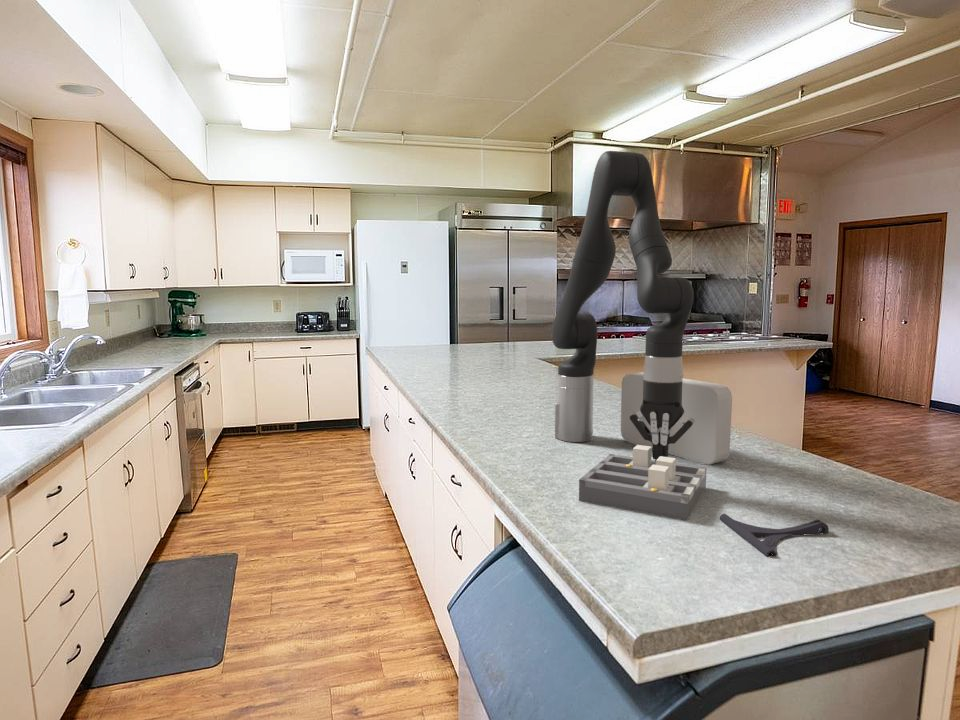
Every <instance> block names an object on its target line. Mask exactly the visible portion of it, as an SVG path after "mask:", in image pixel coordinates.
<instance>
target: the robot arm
mask: <svg viewBox="0 0 960 720" xmlns="http://www.w3.org/2000/svg"><path fill="white" fill-rule="evenodd" d="M591 181H592V182H591V186H590V190H589V197H588V203H587V209H586V212H585V213H586V214H585V218H584V222H583V225H582V230H581V233H580V237H579V239H578V243H577V246H576V248H575V253H574V256H573V259H572V264H571V268H570V273H569V276H568V280H567V283H566V287H565V290H564V293H563V295H562V298H561V300H560V303H559V306H558V308H557V312H556V314H555V317H554V321H553V323H552V327H551V341H552V343H553V345H554V346H555V348H558V349H560V350H575V353H574V354H573V355H572V356H571V357H569V358H568V359H566V360H564V361H562V362H560V363H559V364H558V366H557V367H558V368H557V371H558V372H557V375H558V376H557V382H558V383H557V402H555V404H554V411H555V412H554V438H555V439H557V440H561V441H564V442H568V443H569V442H570V443H583V442H589V441H591V440H593V432H594V429H593V428H594V425H593V424H594V379H595V378H594V372H595V371H594V370H595V365H596V360H597V359H596V358H597V344H598V325H597V320H596V318H595V317H594V315H593V314H592V313H591V314H590V313H585V312H584V313H579V312H580V310H581V308H582V307H583V306H584V304H585V303H586V301H587V300H588V299H589V298H590V297H591V296H593V295H594V294H595V292H597V290H598V289H599V288H601V287H602V285H603V284H604V283H605V282H606V280H607V279H608V277H609V276H610V273H611V270H612V267H613V263H614V261H615V257H616V253H617V247H616V242H615V239H614V235H613V232H612V230H611V226H610V223H609V217H608V215H609V214H608V212H609V205H610V202H611V199H612V197H613V196H617V197H619V196H620V197H631V198H632V200H633V202H634V205H635V209H636V211H635V213H634V218H633V221H632V223H631V225H630V229H629V232H628V233H629V234H628V242H629V248H630V251H631V254H632V257H633V261H634V263H635V266H636V281H637V284H636V285H637V286H636V288H637V291H636V297H637V303H638V305H639V306H640V308H641V309H642V310H643V311H644V312H646V313H648V314H666V315H665V318H664V319H663V321H662V322H661V323H659V324H655V325H652V326H650V327H648V328H647V329H646V332H645V353H644V354H645V356H644V361H643V372H644V375H643V403H642V405H641V407H640V411H638V412H637V413H634V414H632V415H631V416H630V420H631V421H632V423H633V424H634V426H635V427H636V428H637V430H638V431H639V433H640V434H641V435H642V437H643V438H644V440H648V441H650V442H652V444H653V449H652V454H651V458H652V460H655V462H656V460H657V459H658V458H659V457H660V456H663V457H669V454H668V445H669V444H674V443H676V442H677V441H678V440H679V439H680V438H681V436H682V435H683V434H684V433H685V432H686V431H687V430H688V429H689V428H690V427H691V426H692V425H693V424H694V420H693V419H690V418H689V417H687V416H686V415H685V414H684V409H683V407H682V382H683V378H684V366H683V342H684V341H683V339H684V333H685V331H686V327H687V322H688V319H689V317H690V314H691V310H692V307H693V304H694V297H695V295H694V288H693V286H692V284H691V282H690V280H688V279H687V278H685V277H680V276H679V277H678V276H672V277H671V276H670V277H669V276H667V277H666V276H665V277H662V276H661V277H660V276H659V275H662V274H664V273H666V272H667V271H668V270H669V269H670V268H671V266H672V264H673V263H672V262H673V258H672V254H671V252H670V249H669V246H668V242H667V240H666V237H665V234H664V232H663V230H662V229H663V228H662V225H661V222H660V217H659V210H658V203H657V197H656V190H655V184H654V179H653V172H652V168H651V166H650V162H649V160H648V158H647V157H646V155H644V154H642V153H639V152H631V151H619V150H608V151H604V152H603V153H601V154H600V156H599V158H598V160H597V162H596V164H595V168H594V172H593V176H592V180H591ZM643 416H644V417H645V419H646V420H647V422H648V423H649V425H650V426H651V432H650V430H649V429H648V427H647V426H646V425H645V423H644V422H643V419H644V418H643ZM680 418H681V422H680V425H681V426H682V427H681V428H680V429H679V430H678V431H677V432H676V433H675V434H674V436H670V432H671V428H672V427H673V426H674V425H675V424H676V423H677V421H678V420H679V419H680ZM661 428H662V431H661ZM661 434H662V435H661ZM660 441H661V443H660Z"/></svg>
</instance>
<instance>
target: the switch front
mask: <svg viewBox="0 0 960 720" xmlns="http://www.w3.org/2000/svg"><path fill="white" fill-rule="evenodd" d="M643 487H645V488H656V489H658V490H664V491H670V492H673V491H674V486H669V467H667V466H660V465H652V466H651V467H650V468H649V469H648V482H647V483H646V484H645V485H644V486H643Z"/></svg>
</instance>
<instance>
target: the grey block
mask: <svg viewBox="0 0 960 720" xmlns="http://www.w3.org/2000/svg"><path fill="white" fill-rule="evenodd" d="M643 375H644V371H642V372H641V371H640V372H633V373H628V374H625V375H624V376H623V377H622V381H621V394H620V395H621V399H620V406H621V407H620V433H621V434H620V435H621V438H622V439H623V440H624V441H626V442H627V443H630V444H633V445H635V446H636V445H643V446H651V447H652V450H653V444H652V442H650V441H648V440H644V438H643V437H642V435H641V434H640V433H639V431H638V430H637V428H636V427H635V426H634V424H633V423H632V421H631V420H630V416H631V415H632V414H634V413H637V412H638V411H640V407H641V405H642V403H643ZM732 406H733V395H732V391H731V390H730V388H729V387H728V386H727V385H724V384H722V383H714V382H708V381H704V380H703V381H702V380H695V379H690V378H684V377H683V382H682V407H683V409H684V414H685V415H686V416H687V417H689V418H690V419H693V420H694V424H693V425H692V426H691V427H690V428H689V429H688V430H687V431H686V432H685V433H684V434H683V435H682V436H681V438H680V439H679V440H678V441H677V442H676V443H674V444H669V445H668V455H672V456H675V457H679V458H682V459H685V460H688V461H692V462H696V463H699V464H703V465H713V464H717V463H721V462H724V461H726V460H727V459H728V458H729V455H730V452H731V451H730V449H731V448H730V447H731V434H732V433H731V429H732V428H731V427H732V409H733V408H732ZM643 418H644V419H643V422H644V423H645V425H646V426H647V427H648V429H649V430H650V432H651V426H650V425H649V423H648V422H647V420H646V419H645V417H644V416H643ZM680 422H681V418H680V419H679V420H678V421H677V423H676V424H675V425H674V426H673V427H672V428H671V432H670V436H674V434H675V433H676V432H677V431H678V430H679V429H680V428H681V427H682V426H681V425H680ZM661 431H662V428H661ZM661 435H662V434H661ZM660 443H661V441H660Z"/></svg>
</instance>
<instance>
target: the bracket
mask: <svg viewBox="0 0 960 720" xmlns="http://www.w3.org/2000/svg"><path fill="white" fill-rule="evenodd" d="M719 521H721V522H722V523H723V524H724V525H725V526H727V527H728V528H730V529H731V531H733V532H734V533H735V534H737V535H738V536H740V538H742V539H743V540H744V541H746V542H747V543H748V544H749V545H751V546H752V547H754V548H755V549H756V550H757V551H758V552H759V553H761V554H762V555H764V556H765V557H766V558H769V554H771V555H772V556H773V557H777V551H776V546H777V545H778V544H779V542H780V541H782V540H784V538H785V539H787V538H790V536H791V537H793V535H797V536H805V535H804V534H815V535H821V534H820V533H819V531H820V532H821V533H823V534H822V535H827V534H826V533H828V534H829V531H830V530H829V526H828V525H827V524H826V522H824V521H822V520H820V519H817V518H816V519H814V520H811V521H808V522H805V523H802V524H799V525H794V526H790V527H783V528H770V527H768V528H767V527H762V526H757V525H752V524H749V523H744V522H741V521H739V520H736V519H733V518H732V517H730V516H729V515H728V514H727V513H721V514H720V515H719ZM822 530H823V531H822ZM759 538H763V540H760V539H759Z"/></svg>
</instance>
